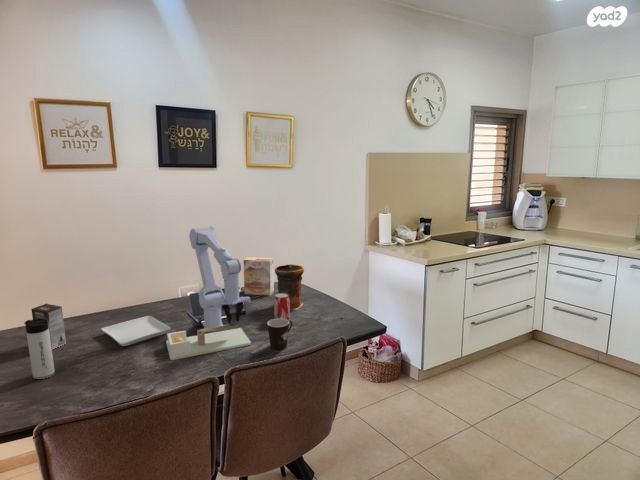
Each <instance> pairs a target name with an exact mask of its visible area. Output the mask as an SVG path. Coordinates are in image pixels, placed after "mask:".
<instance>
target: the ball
mask: <svg viewBox="0 0 640 480" xmlns="http://www.w3.org/2000/svg"><path fill="white" fill-rule="evenodd" d="M183 341H184V340H183V339H182V338H181V337H176V338H175V339H174V340H173V343H177V342H183Z"/></svg>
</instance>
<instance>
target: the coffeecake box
mask: <svg viewBox="0 0 640 480" xmlns="http://www.w3.org/2000/svg"><path fill="white" fill-rule="evenodd" d="M242 262H243V282H244V283H243V285H244V286H243V287H244V290H243V291H244V295H259V296H271V295H273V293H274V292H275V279H274V276H275V275H274V273H275V270H274V258H273V257H258V256H255V257H253V256H247V257H245V258H244V259H243V261H242Z"/></svg>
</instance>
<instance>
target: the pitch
mask: <svg viewBox="0 0 640 480" xmlns="http://www.w3.org/2000/svg"><path fill="white" fill-rule="evenodd" d="M204 334H205V344H204V345H200V344H199V342H198V335H191V336H186V337H187V341H188V340H189V341H190V351H188V352H183V353H178V354H172V355H171V353H170V349H169V345H168V340H166V341H165V342H166V348H167V352H168V356H169V359H170V361H174V360H179V359H185V358H190V357H195V356H199V355H206V354H211V353H216V352H219V351H220V352H221V351H227V350H232V349H236V348H241V347H247V346H251V345H252V341H251V340H250V339H249V337H248V336H247V334H246V333H245V331H244V330H243V329H242V327H238V328H230V329H224V330H219V331H213V332H209V333H208V332H207V333H204Z"/></svg>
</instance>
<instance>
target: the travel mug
mask: <svg viewBox="0 0 640 480" xmlns="http://www.w3.org/2000/svg"><path fill="white" fill-rule="evenodd" d="M24 325H25V332H26V340H27V347H28V354H29V359H30V367H31V373H32V378H34V380H35V379H44V380H46V379H45V378H47V379H49V378H48V377H50V378H51V377H53V376H54V375H55V374H54V373H55V363H54V358H53V357H54V356H53V350H52V348H51V341H50V333H49V327H48V321H47V320H45V319H33V318H32V319H28V320H26V321H24ZM52 375H53V376H52Z"/></svg>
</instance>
